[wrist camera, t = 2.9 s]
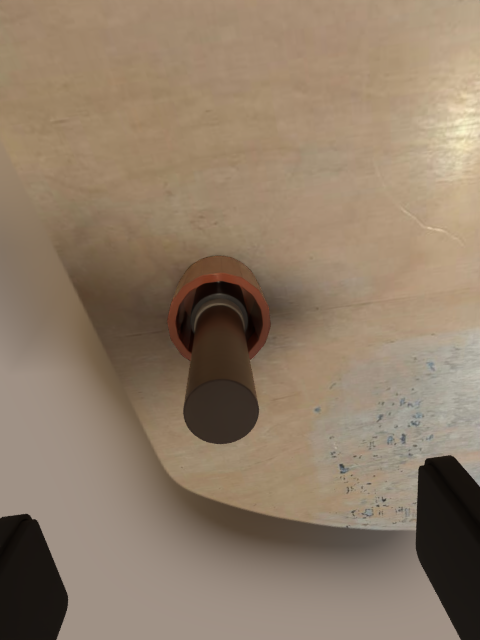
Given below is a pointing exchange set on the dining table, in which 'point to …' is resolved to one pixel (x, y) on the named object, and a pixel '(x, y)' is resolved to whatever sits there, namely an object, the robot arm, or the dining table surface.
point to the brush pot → (214, 272)
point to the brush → (220, 367)
